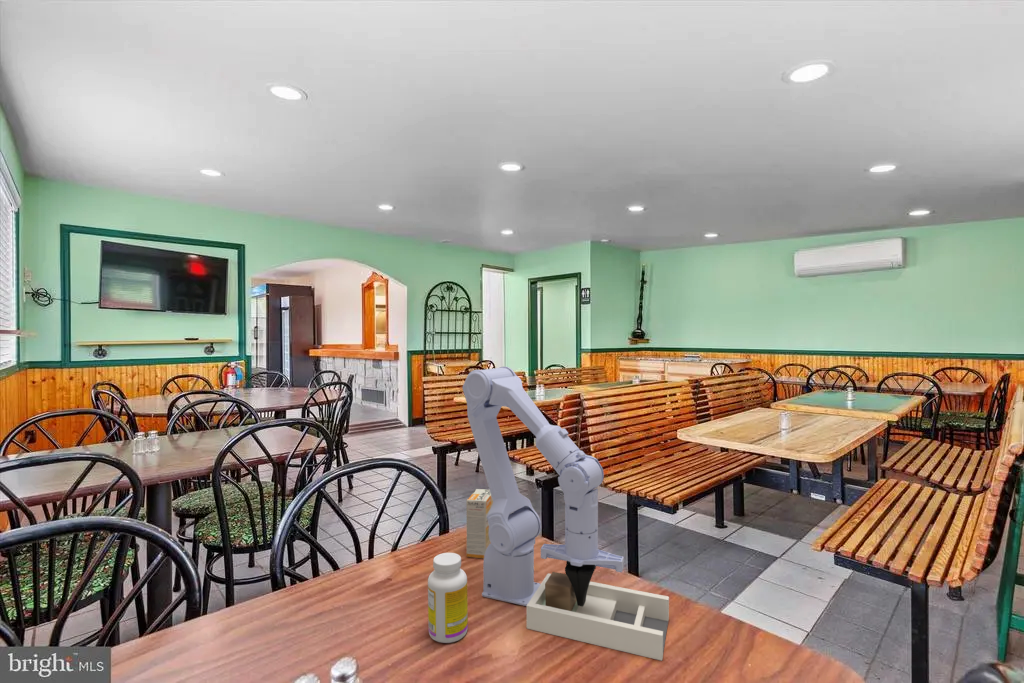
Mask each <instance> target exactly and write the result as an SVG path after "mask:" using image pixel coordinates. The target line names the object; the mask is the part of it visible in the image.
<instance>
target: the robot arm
mask: <svg viewBox="0 0 1024 683" xmlns="http://www.w3.org/2000/svg"><path fill="white" fill-rule="evenodd" d="M522 382H523V381H522V379H521V378H520V377H519V376H518V375H517V374H516V372H515V371H514V370H513V369H512V368H510V367H509V366H500V367H496V368H487V369H475V370H471V371H470V372H469V373H468V374H467V376H466V378H465V380H464V383H463V385H462V387H461V389H462V391H463V395H464V398H465V401H466V406H467V407H466V409H467V412H466V413H467V419H468V422H469V426H470V429H471V433H472V436H473V439H474V443H475V446H476V449H477V453H478V455H479V456H478V457H479V459H480V462H481V466H482V468H483V472H484V476H485V479H486V482H487V483H486V484H487V485H488V490H490V493H491V496H492V500H493V504H492V506H491V508H490V510H489V512H488V515H487V520H488V524H489V532H488V533H489V539H490V542H491V543H490V544H489V545H488V547H487V549H486V552H485V555H484V559H483V562H482V563H483V564H482V565H483V566H482V567H483V568H482V569H483V581H482V583H483V587H482V588H483V591H482V592H481V596H482V597H484V598H488V599H493V600H496V601H497V600H498V601H502V602H506V603H510V604H516V605H520V606H524V607H527V604H528V603H529V601H530V600H531V598H532V597H533V595H534V594H535V592H536V591H537V589H538V588H539V586H540V585H541V583H540V582H535V568H534V567H535V563H534V562H535V561H534V560H535V544H536V538H537V537H538V536H539V535H540V533H541V531H542V521H541V519H540V516H539V514H538V513H537V511H536V510H535V509H534V507H533V505H532V501H531V499H529V498H528V497H526V496H525V495H524V494H522V493H520V490H519V486H518V483H517V480H516V477H515V473H514V470H513V466H512V464H511V463H512V462H511V460H510V458H509V454H508V451H507V447H506V444H505V442H504V438H503V435H502V432H501V428H500V425H499V421H498V418H497V416H498V414H499V412H500V410H501V408H502V407H505V408H508V409H509V410H510V411H511V412H512V413H513V414H514V415H515V416H516V417H517V418H518V420H520V421H521V422H522V423H523V424H524V426H525V427H526V428H527V429H528V430H529V431H530V432H531V433H532V434H533V435H534V436H535V447H536V448H537V449H538V451H539V453H541V455H542V456H543V457H544V459H546V461H547V462H548V463H549V465H551V467H552V468H553V469H554V471H555V472H556V473H557V474H558V475H559V476H558V477H557V481H558V485H559V487H560V489H561V491H562V492H563V493H562V494H563V502H564V504H565V505H564V541H565V542H564V544H550V543H543V544H542V545H541V547H540V559H544V560H546V559H548V558H549V559H554V560H558V561H559V560H560V561H565V562H566V563H565V566H564V571H565V573H564V574H566V575H567V576H568V578H569V580H570V582H571V584H572V587H573V589H574V592H575V596H576V600H577V605H578V606H582V607H583V606H584V604H585V601H586V595H587V590H588V586H589V583H590V581H591V580H592V577H593V575H594V573H595V571H596V568H597V567H598V568H599V567H600V568H603V569H604V568H605V569H611V570H614V571H615V572H616V573H623V570H624V567H625V558H624V557H625V556H621V555H617V554H614V553H611V552H608V551H605V550H602V549H599V534H598V533H599V532H598V531H599V493H598V492H599V489H598V488H599V486H600V485H601V484H602V483H603V481H604V476H605V473H604V468H603V467H602V465H601V463H600V462H599V459H598V458H596V457H594V456H592V455H588V454H586V453H585V452H584V451H583V450H581V448H579V447H578V446H577V445H576V443H574V441H573V440H572V439H571V438H570V436H569V432H568V430H567V429H566V428H562V427H561V426H560V425H553V424H550V423H549V420H548V419H546V417H545V416H544V415H543V413H542V411H541V410H540V409H539V407H538V406H537V405H536V403H535V402H534V401H533V399H532V398H531V396H529V394H528V393H527V392H526V390H525V389H524V387H523V383H522Z"/></svg>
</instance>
